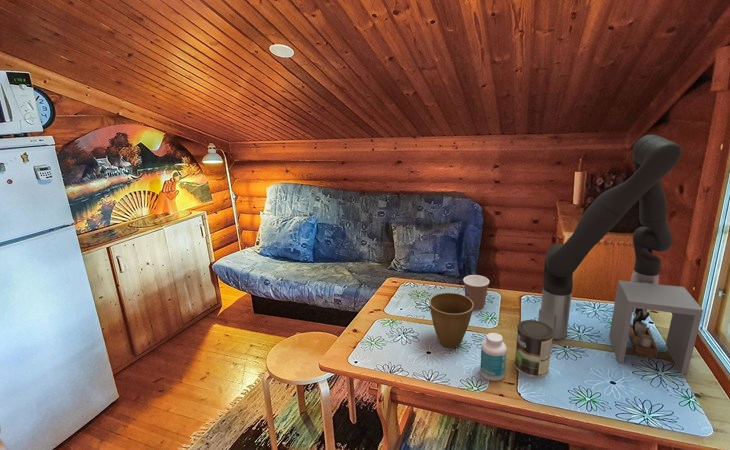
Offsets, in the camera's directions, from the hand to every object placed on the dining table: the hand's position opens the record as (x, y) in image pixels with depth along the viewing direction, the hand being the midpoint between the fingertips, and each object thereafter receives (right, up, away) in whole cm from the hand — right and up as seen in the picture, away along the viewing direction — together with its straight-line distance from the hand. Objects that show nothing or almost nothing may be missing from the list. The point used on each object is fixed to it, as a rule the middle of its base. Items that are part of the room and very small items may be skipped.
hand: (636, 326), depth 138 cm
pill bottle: (-58, -10, -17) cm, 61 cm away
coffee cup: (-52, +3, +22) cm, 56 cm away
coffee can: (-44, -9, -15) cm, 48 cm away
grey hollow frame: (-5, -6, -12) cm, 14 cm away
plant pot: (-67, -6, 0) cm, 67 cm away
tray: (-3, -4, -7) cm, 9 cm away
